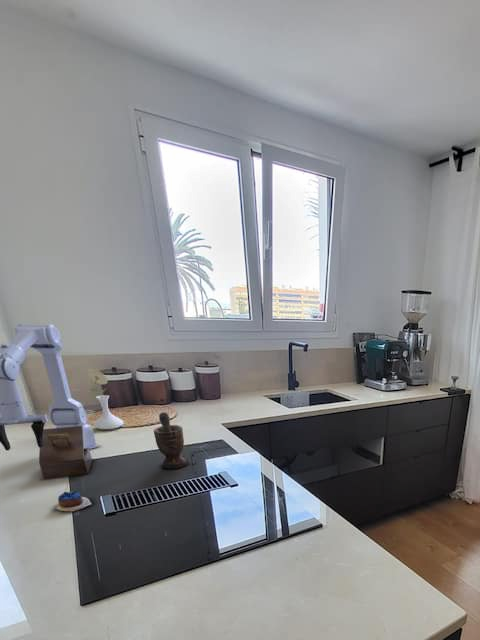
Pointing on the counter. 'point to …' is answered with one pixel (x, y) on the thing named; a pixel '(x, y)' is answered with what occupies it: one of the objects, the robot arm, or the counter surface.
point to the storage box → (67, 467)
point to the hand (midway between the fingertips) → (24, 447)
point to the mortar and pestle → (170, 442)
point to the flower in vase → (103, 404)
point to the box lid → (61, 445)
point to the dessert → (72, 501)
